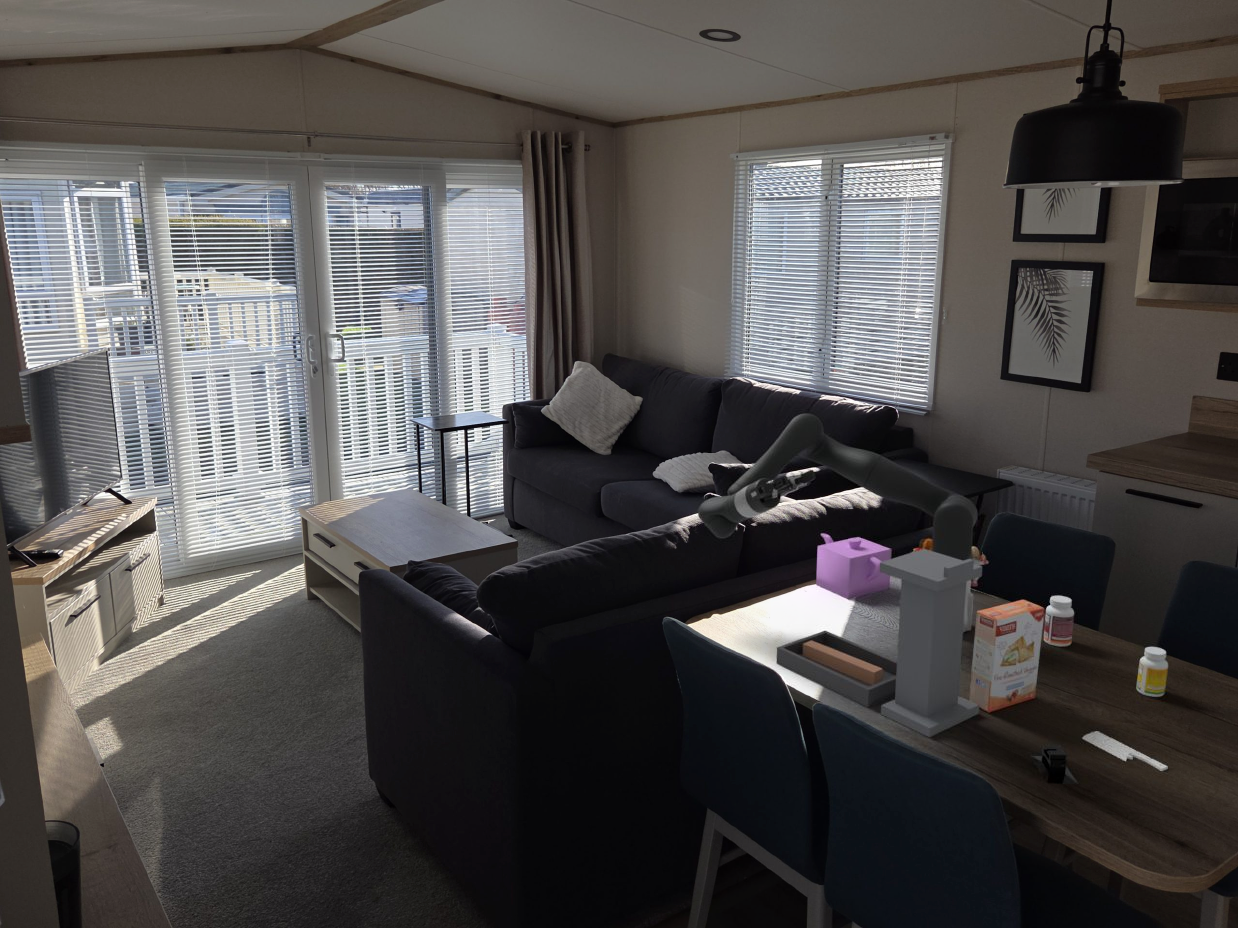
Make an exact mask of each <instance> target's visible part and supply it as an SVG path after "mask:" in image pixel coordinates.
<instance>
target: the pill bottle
mask: <svg viewBox="0 0 1238 928" xmlns="http://www.w3.org/2000/svg"><path fill="white" fill-rule="evenodd" d="M1072 601H1073V600H1072V599H1071V598H1070V597H1068V596H1063V595H1051V597H1050V599H1049V603H1050V605H1048V606H1047V607H1046V609H1045V615H1044V619H1045V620H1044V629H1043V630H1044V632H1043V641H1044V642H1045V643H1047V644H1048V645H1050V646H1055V647H1060V648H1061V647H1068V646H1070V645H1071V644H1072V640H1073V630H1074V619H1075V611H1074V609H1073V608H1072Z"/></svg>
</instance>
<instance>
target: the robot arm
mask: <svg viewBox="0 0 1238 928" xmlns="http://www.w3.org/2000/svg"><path fill="white" fill-rule="evenodd" d="M797 456H800V457H801V458H804V459H807V460H808V461H812V462H814V463H816V464H819V465H822V466H824V467H826V468H828V469H830V470H832V471H833V472H836V473H837V474H838V475H841V477H844V478H845V479H848V480H849V481H851V482H852V483H855V484H857V485H858V486H860V487H861V488H863V489H865V490H867V491H869V492H871V493H873V494H875V495H876V496H878V497H881V498H883V499H885V500H889V501H892V502H895V503H896V502H897V503H900V504H904V505H908V506H911V507H915V508H916V509H919V510H921V511H923V512H924V513H926V514H928V515H929V516H931V517H933V522H932V523H933V525H932V551H933V552H936V553H939V554H943V555H946V556H949V557H953V558H956V559H959V560H963V561H964V560H967V559H972V560H973V553H972V546H973V535H974V531H973V530H974V526H975V524H976V522H977V520H978V515H979V514H978V510H977V506H975V504H974V503H973V501H971V500H970V499H969V498H968V497H965V496H963V495H961V494H958V493H956V492H953V491H950V490H948V489H945V488H943V487H942V486H941V487H940V486H938V485H936V484H934V483H931V482H930V481H928V480H926V479H924V478H923V477H921V476H919V475H917V474H916V473H914V472H912V471H911V470H908V469H906V467H905V468H904V467H903V466H901V465H899V464H897V463H896V462H894V461H892V460H890V459H888V458H886V457H884V456H882V455H881V454H878V453H876V452H873V451H869V450H867V449H862V448H861V449H860V448H856V447H851V446H848V445H845V444H842V443H841V442H839V441H837V440H835V439H833V438H832V437H830V436H829V435H827V434H826V433H824V426H823V423H822V421H821V420H820V418H819V417H817V416H816V415H814V414H812V413H801V414H798V415H796V416H794V417H793V418H792V419H791V421H790V422H789V423H788V424H787V426H786V427H785V428H784V430H783V431H782V432H781V434H780V435H779V436H778V437H777V438H776V440H775V441H774V443H773V444H772V445H771V446H770V447H769V449H768V450H766V452H765V453H763V455H762V456H761V457H760V458H759V459H758V460H757V461H756V462H755V463H754V464H753V465H751V467H750V468H749V469H748V470H747V471H745V472H744V474H742V475H741V476H740V477H739V478H738V479H737V480H736V481H735V482H734V483H733V484H732V485H731V486H730V487H729V488H728V490H727V495H724V496H723V495H722V496H714V497H711V498H708V499H706V500H704V501H703V502H702V503H701V504H700V506H699V507H698V510H697V516H698V518H699V519H700V521H701V522H702V523H703V524H704V525H705V526H706V528H707V529H708V530H710V532H711V533H712V534H713V535H714V536H715V537H716V538H718V539H726V538H728V537H730V536H731V535H732V534H733V533H734V532H735V530H736V529H737V528H738V526H739V525H740V524H739V523H742V522H745V521H746V520H748V519H750V518H753V517H757V516H759V515H761V514H764V513H766V512H768V511H770V510H773V509H774V508H776V507H777V506H779V504H780V503H781V498H782V497H784V496H785V497H786V496H787V495H788V494H790V493H793V492H796V491H798V490H800V489H801V488H804V487H806V486H809V485H810V484H811V481H813V480H816V477H817V476H816V474H815V472H814V470H813V469H811V470H808V471H805V472H804V473H800V474H799V475H796V476H793V475H790V476H788V477H787V475H783V476H780V477H779V475H780V474H781V472H782V471H784V469H785V467H786V466H788V464H789V463H790V462H791V461H792V460H793V459H794V458H795V457H797ZM971 582H972V580H969V581H966V595H965V609H964V623H963V633H965V632H969V631H971V630H972V620H973V607H974V606H973V605H974V604H973V603H974V593H972V592H971V587H972V586H971Z"/></svg>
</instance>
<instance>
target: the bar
mask: <svg viewBox="0 0 1238 928" xmlns="http://www.w3.org/2000/svg"><path fill="white" fill-rule="evenodd" d="M803 656H804V657H807V658H809V659H811V660H814V661H816V662H819V663H821V664H823V665H826V666H828V667H831V668H833V669H835V670H838V671H840V672H843V673H845V674H847V675H850V676H852V677H855V678H857V679H859V680H862V681H864V682H867V683H869V684H871V685H874V684H877V683H879V682H881V681H882V670H883V669H882V668H880V667H877V666H875V665H872V664H870V663H867V662H865V661H862V660H860V659H857V658H854V657H852V656H849V655H847V654H844V653H842V652H839V651H837V650H834V649H832V648H829V647H827V646H824V645H822V644H819V643H817V642H814V641H812V640H811V641H809V642H806V643H804V644H803Z"/></svg>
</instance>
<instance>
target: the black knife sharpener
mask: <svg viewBox="0 0 1238 928" xmlns="http://www.w3.org/2000/svg"><path fill="white" fill-rule="evenodd" d="M1029 757H1030V759H1031V761H1032V762H1033V763H1034V765H1035V767H1036V769H1037V770H1038V773H1040V775H1041V777H1042V778H1043V780H1044V782H1045V784H1061V785H1063V784H1064V785H1078V784H1079V782H1078V781H1077V780H1076V778H1075V777H1074V775H1073V774H1072V772H1071V771H1070V770H1069V768H1068V767H1067V762H1068V761H1067V753H1066V752H1065V751H1064V750H1063V748H1062V747H1061V745H1060V744H1043V748H1042V752H1041V755H1029Z"/></svg>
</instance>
